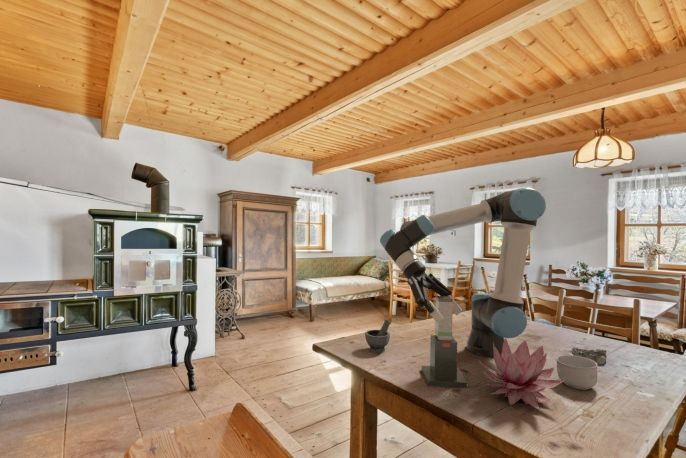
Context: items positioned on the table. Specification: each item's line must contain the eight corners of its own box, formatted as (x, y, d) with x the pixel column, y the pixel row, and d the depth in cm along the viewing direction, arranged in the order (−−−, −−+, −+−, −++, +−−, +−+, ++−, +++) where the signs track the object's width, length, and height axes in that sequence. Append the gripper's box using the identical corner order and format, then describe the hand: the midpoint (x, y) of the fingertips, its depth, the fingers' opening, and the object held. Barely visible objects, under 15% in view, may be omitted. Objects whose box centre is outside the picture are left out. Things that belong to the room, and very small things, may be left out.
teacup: (599, 397, 99) (599, 370, 99) (555, 387, 105) (556, 362, 105) (594, 379, 111) (594, 355, 111) (555, 371, 117) (555, 348, 117)
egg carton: (608, 361, 128) (608, 350, 128) (603, 366, 123) (603, 355, 123) (575, 353, 136) (575, 343, 136) (569, 357, 131) (569, 347, 131)
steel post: (448, 355, 113) (449, 296, 113) (452, 361, 108) (452, 299, 108) (434, 355, 113) (435, 295, 113) (437, 360, 108) (438, 298, 108)
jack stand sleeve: (456, 371, 116) (457, 333, 116) (467, 387, 104) (467, 345, 104) (421, 369, 117) (421, 332, 117) (428, 385, 105) (428, 344, 105)
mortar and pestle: (372, 356, 129) (373, 324, 129) (360, 348, 137) (361, 319, 137) (396, 351, 134) (397, 321, 134) (383, 344, 142) (384, 316, 142)
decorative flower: (504, 375, 113) (505, 330, 113) (575, 403, 95) (576, 350, 95) (463, 391, 102) (464, 341, 102) (535, 427, 84) (536, 366, 84)
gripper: (422, 270, 130) (459, 316, 120) (383, 276, 112) (423, 331, 102) (435, 257, 127) (474, 303, 116) (397, 261, 108) (439, 316, 98)
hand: (450, 316), depth 109 cm, fingers open, 13 cm apart
